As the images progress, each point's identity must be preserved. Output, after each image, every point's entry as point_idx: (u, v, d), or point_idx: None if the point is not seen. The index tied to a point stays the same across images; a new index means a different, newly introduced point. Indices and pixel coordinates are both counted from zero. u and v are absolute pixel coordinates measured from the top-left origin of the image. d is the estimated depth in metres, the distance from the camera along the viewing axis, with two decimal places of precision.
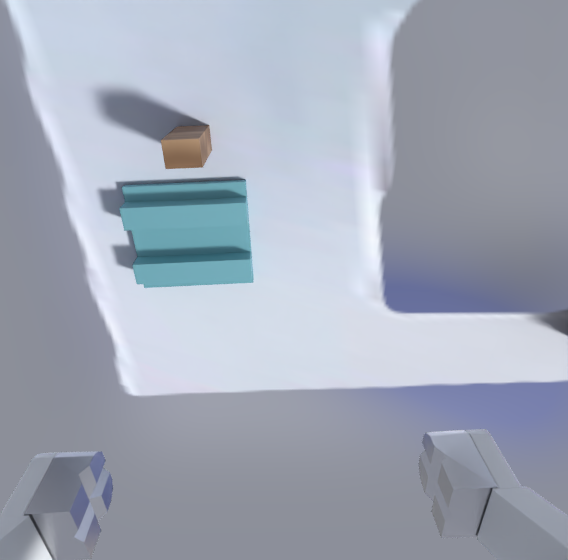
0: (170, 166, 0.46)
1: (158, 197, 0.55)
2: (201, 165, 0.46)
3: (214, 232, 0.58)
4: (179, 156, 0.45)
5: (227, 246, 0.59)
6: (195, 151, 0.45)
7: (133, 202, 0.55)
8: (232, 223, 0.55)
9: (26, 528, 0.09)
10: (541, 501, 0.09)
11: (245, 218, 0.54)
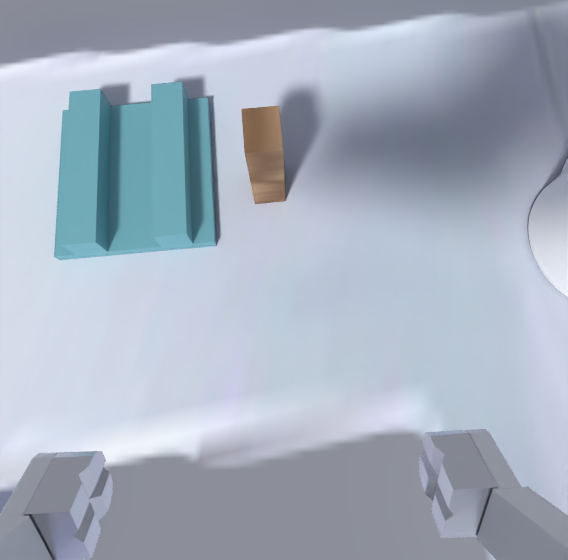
0: (244, 115, 0.34)
1: (194, 136, 0.42)
2: (247, 151, 0.33)
3: (141, 202, 0.40)
4: (258, 126, 0.33)
5: (118, 219, 0.40)
6: (266, 144, 0.33)
7: (187, 106, 0.43)
8: (155, 215, 0.37)
9: (26, 528, 0.09)
10: (542, 501, 0.09)
11: (162, 234, 0.37)
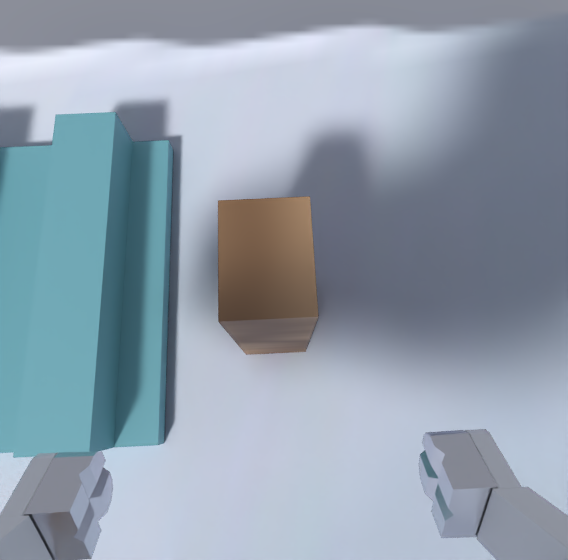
0: (223, 216, 0.14)
1: (137, 214, 0.22)
2: (225, 318, 0.13)
3: (19, 347, 0.20)
4: (257, 248, 0.13)
5: None
6: (274, 301, 0.13)
7: (129, 157, 0.23)
8: (26, 404, 0.17)
9: (26, 528, 0.09)
10: (541, 501, 0.09)
11: (36, 451, 0.17)
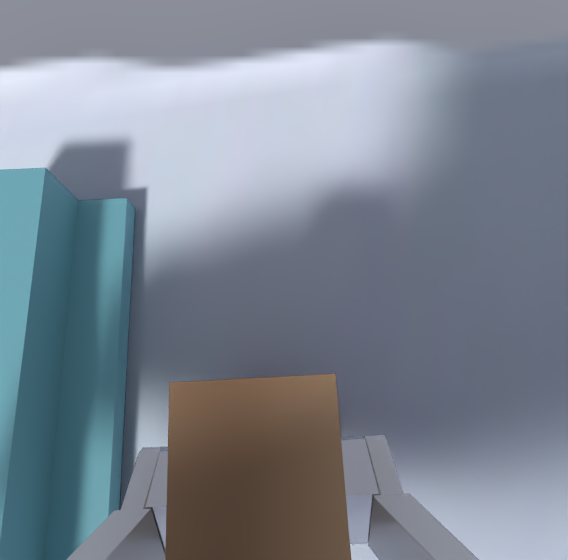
0: (179, 415, 0.07)
1: (81, 305, 0.16)
2: None
3: None
4: (240, 483, 0.07)
5: None
6: None
7: (72, 223, 0.17)
8: None
9: (148, 521, 0.09)
10: (421, 508, 0.09)
11: None
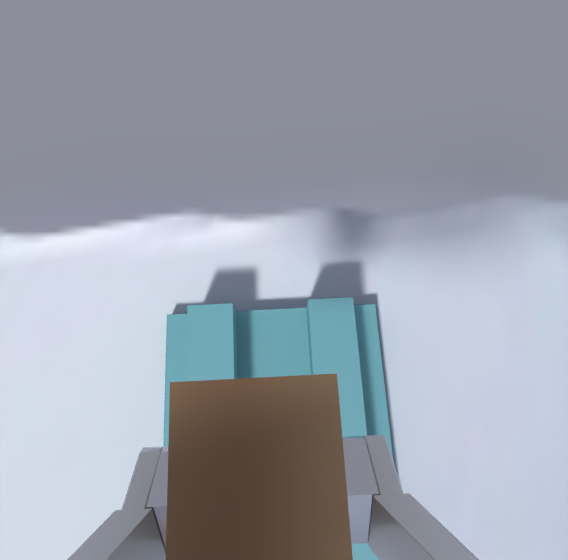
0: (179, 415, 0.07)
1: (360, 367, 0.29)
2: None
3: None
4: (241, 484, 0.07)
5: None
6: None
7: None
8: None
9: (149, 521, 0.09)
10: (421, 508, 0.09)
11: None
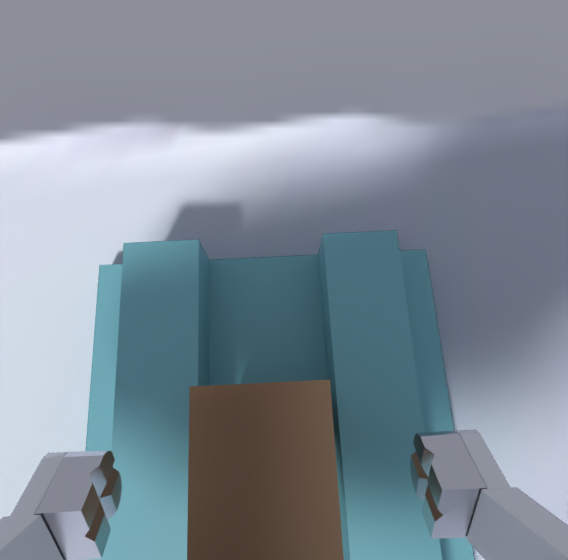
0: (197, 414, 0.09)
1: None
2: None
3: None
4: (249, 471, 0.08)
5: None
6: None
7: None
8: None
9: (38, 527, 0.09)
10: (530, 502, 0.09)
11: None
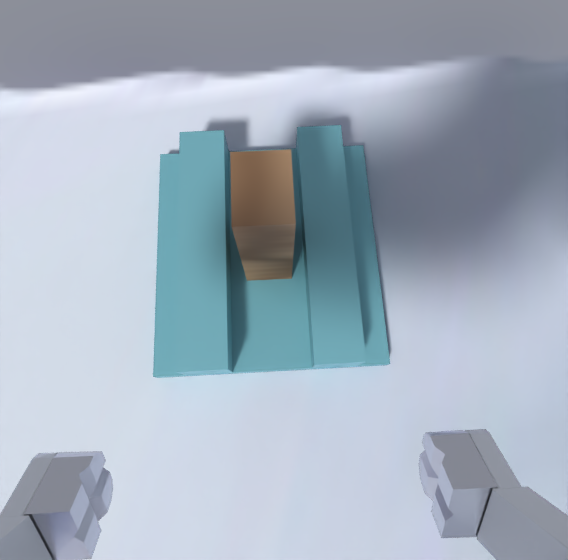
0: (234, 162, 0.21)
1: (348, 200, 0.30)
2: (235, 224, 0.20)
3: (278, 296, 0.28)
4: (256, 182, 0.20)
5: (246, 321, 0.27)
6: (267, 214, 0.20)
7: None
8: (317, 330, 0.25)
9: (26, 528, 0.09)
10: (542, 501, 0.09)
11: (329, 360, 0.24)
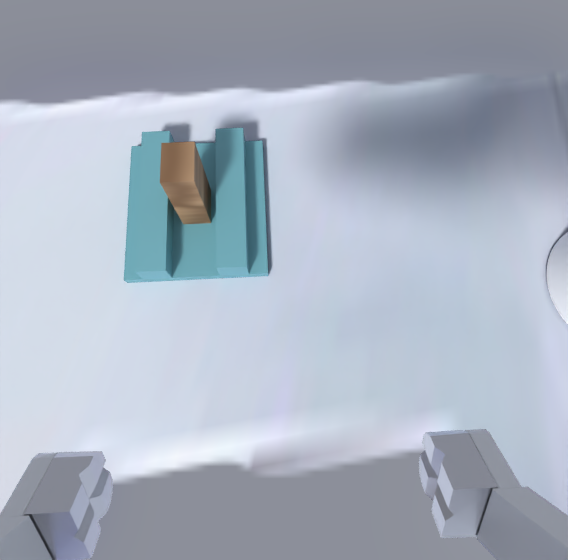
0: (163, 148, 0.38)
1: (250, 175, 0.47)
2: (162, 181, 0.37)
3: (202, 233, 0.45)
4: (174, 159, 0.37)
5: (181, 248, 0.45)
6: (179, 176, 0.37)
7: (245, 148, 0.48)
8: (219, 248, 0.42)
9: (26, 528, 0.09)
10: (542, 501, 0.09)
11: (225, 265, 0.41)
